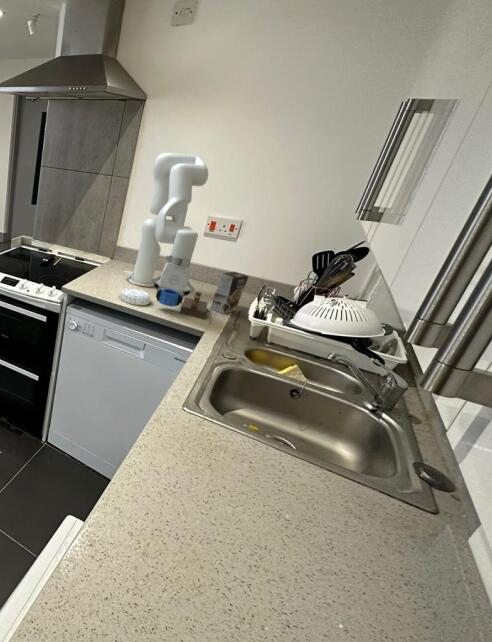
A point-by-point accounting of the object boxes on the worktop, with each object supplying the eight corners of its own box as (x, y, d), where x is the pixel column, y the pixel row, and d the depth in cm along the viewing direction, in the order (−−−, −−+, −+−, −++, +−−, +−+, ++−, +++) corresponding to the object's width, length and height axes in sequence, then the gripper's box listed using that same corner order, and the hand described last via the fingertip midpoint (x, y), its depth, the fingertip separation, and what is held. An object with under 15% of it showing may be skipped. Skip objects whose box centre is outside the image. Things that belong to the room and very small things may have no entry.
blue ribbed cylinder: (157, 303, 161) (160, 291, 159) (159, 298, 166) (162, 287, 164) (175, 307, 157) (179, 296, 155) (177, 302, 163) (181, 291, 161)
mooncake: (150, 299, 173) (152, 291, 172) (147, 307, 163) (149, 300, 162) (123, 292, 178) (124, 285, 177) (118, 300, 168) (119, 293, 167)
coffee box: (223, 314, 164) (236, 278, 157) (209, 307, 169) (221, 272, 163) (236, 311, 168) (249, 275, 162) (222, 305, 173) (234, 270, 167)
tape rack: (179, 312, 161) (184, 296, 158) (182, 303, 172) (187, 287, 169) (203, 319, 157) (209, 302, 154) (205, 308, 168) (211, 292, 165)
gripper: (155, 258, 156) (144, 299, 163) (203, 268, 148) (189, 310, 155) (157, 254, 162) (147, 294, 169) (204, 263, 154) (191, 305, 161)
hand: (167, 301), depth 162 cm, fingers closed on blue ribbed cylinder, 7 cm apart
